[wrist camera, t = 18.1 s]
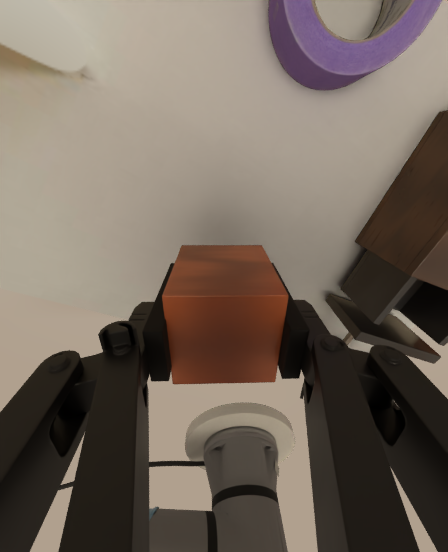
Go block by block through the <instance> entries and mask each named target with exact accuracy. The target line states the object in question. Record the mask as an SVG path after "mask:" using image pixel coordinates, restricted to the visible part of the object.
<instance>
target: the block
mask: <svg viewBox="0 0 448 552" xmlns="http://www.w3.org/2000/svg"><path fill="white" fill-rule="evenodd" d="M288 296H289V295H288V293H287V291H286V289H285V288H284V286H283V284H282V282H281V280H280V278H279V276H278V274H277V273H276V271H275V269H274V267H273V265H272V263H271V261H270V260H269V258H268V256H267V254H266V252H265V250H264V248H263V247H262V245H182V246H181V248H180V251H179V254H178V256H177V259H176V261H175V264H174V267H173V269H172V272H171V274H170V277H169V280H168V282H167V285H166V287H165V290H164V292H163V295H162V301H163V309H164V317H165V319H166V324H167V332H168V340H169V349H170V357H171V365H172V368H171V372H172V381H173V384H206V383H207V384H208V383H256V382H275V379H276V373H277V366H278V360H279V354H280V347H281V341H282V335H283V328H284V322H285V316H286V309H287V303H288Z"/></svg>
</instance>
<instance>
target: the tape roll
mask: <svg viewBox="0 0 448 552" xmlns="http://www.w3.org/2000/svg"><path fill="white" fill-rule="evenodd" d="M441 2H442V0H384V1H383V6H382V10H381V13H380V16H379V19H378V21H377V24H376V26H375V28H374V30H373V32H372V33H371V35H370V36H369V38H368V39H365V40H359V41H352V40H346V39H343V38H341V37H339V36H337V35H336V34H334V33H333V32H331V31H330V30H329V29H328V28H327V26H326V25H325V24H324V22H323V21H322V19H321V17H320V15H319V13H318V11H317V8H316V4H315V1H314V0H269V28H270V34H271V39H272V43H273V46H274V49H275V52H276V54H277V56H278V59H279V60H280V62H281V64H282V66H283V67H284V69H285V70H286V71H287V72H288V74H289V75H290V76H291V77H292V78H293V79H295V80H296V81H297V82H299V83H300V84H302V85H304V86H306V87H309V88H312V89H316V90H334V89H338V88H341V87H344V86H347V85H349V84H351V83H353V82H355V81H357V80H359V79H361V78H362V77H364V76H366V75H368V74H370V73H372V72H373V71H375V70H377V69H379V68H381V67H383V66H384V65H386V64H388V63H389V62H391V61H392V60H394V59H395V58H396V57H398V56H399V55H400V54H401V53H403V52H404V51H405V50H406V49H407V48H408V47H409V46H410V45H411V44H412V43H413V42H414V41H415V40H416V39H417V37H418V36H419V35H420V34H421V33H422V32H423V30H424V29H425V28H426V26H427V25H428V23H429V22H430V20H431V19H432V17H433V16H434V14H435V12H436V11H437V9H438V7H439V6H440V4H441Z"/></svg>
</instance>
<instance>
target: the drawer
mask: <svg viewBox="0 0 448 552" xmlns="http://www.w3.org/2000/svg"><path fill="white" fill-rule="evenodd" d="M341 289H342V290H343V292H344V293H345V294H346V295H347V296H348V297H349V298H350V299H351V300H352V301H353V302H352V301H349V300H346V299H343V298H340V297H337V296H335V295H332V294H330V295H329V296H328V298H327V299H326V302H327V303H328V305H329V306H330V307H331V309H332V310H333V311H334V313H335V314H336V315H337V317H338V318H339V319H340V321H341V322H342V323H343V324H344V326H345V327H346V328H347V330H348V331H349V333H348V334H347V335H346V336H345V338H344V339H343V341H344V342H345V343H346V345H348V344H349V343H350V342H351V340H352V339H353V338H354V339H355V340H358V341H361V342H365V343H368V344H371V345H374V346H375V345H387V346H390V347H393V348H395V349H397V350H399V351H401V352H402V353H403V354H405V355H407V356H410V357H414V358H417V359H421V360H424V361H427V362H430V363H436V361H438V360H439V359H440V358H441V356H440V355H439V354H438V353H436V352H435V351H434V350H433V349H432V348H431V347H430V346H429V345H427V344H426V343H425V342H424V341H423V340H422V339H421V338H420V337H418V336H417V335H416V334H415V333H414V332H413V331H412V330H411V329H409V328H408V327H407V326H406V325H405V324H404V323H403V322H402V321H400V320H399V319H398V318H397V317H396V316H393V315H390V314H389V312H390V311H391V310H392V309H395V310H398V311H400V312H401V313H402V314H403V315H405V316H406V317H407V318H408V319H409V320H411V321H412V322H413V323H414V324H415V325H417V326H418V327H419V328H420V329H421V330H423V331H424V332H425V333H426V334H427V335H429V336H430V337H431V338H432V339H433V340H434V341H436V342H437V343H438V344H440V345H443V346H444V345H445V344H446V343H448V290H445V289H443V288H440V287H438V286H435V285H433V284H430V283H427V282H425V281H422V280H420V279H417V278H415V277H412V276H410V275H408V274H407V273H405V272H403V271H402V270H400V269H398V268H397V267H395V266H394V265H392V264H390V263H389V262H387V261H385V260H384V259H382V258H381V257H379V256H377V255H376V254H374V253H372V252H371V251H369V250H367V251H366V253H365V254H364V256H363V257H362V259H361V260H360V261H359V263H358V264H357V266H356V267H355V269H354V270H353V272H352V273H351V274H350V276H349V277H348V279H347V280H346V282H345V283H344V285H343V286H342V288H341Z"/></svg>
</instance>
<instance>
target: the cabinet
mask: <svg viewBox="0 0 448 552" xmlns="http://www.w3.org/2000/svg"><path fill="white" fill-rule="evenodd" d="M355 242H356V243H358V244H359V245H361V246H363V247H364V248H366V249H367V250H369V251H371V252H372V253H374V254H376V255H377V256H379V257H381V258H382V259H384V260H385V261H387V262H389V263H390V264H392V265H394V266H395V267H397V268H398V269H400V270H402V271H403V272H405V273H407V274H408V275H410V276H412V277H415V278H417V279H420V280H422V281H425V282H427V283H430V284H433V285H435V286H438V287H440V288H443V289H445V290H448V110H447V111H442V112H439V114H438V115H437V117H436V118H435V120H434V121H433V123H432V124H431V126H430V127H429V129H428V130H427V132H426V134H425V135H424V137H423V138H422V140H421V141H420V143H419V144H418V146H417V147H416V149H415V150H414V152H413V153H412V155H411V156H410V158H409V159H408V161H407V163H406V164H405V166H404V167H403V169H402V170H401V172H400V173H399V175H398V176H397V178H396V179H395V181H394V182H393V184H392V185H391V187H390V189H389V190H388V192H387V193H386V195H385V196H384V198H383V199H382V201H381V202H380V204H379V205H378V207H377V208H376V210H375V211H374V213H373V214H372V216H371V218H370V219H369V221H368V222H367V224H366V225H365V227H364V228H363V230H362V231H361V233H360V234H359V236H358V237H357V239H356V240H355Z"/></svg>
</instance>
